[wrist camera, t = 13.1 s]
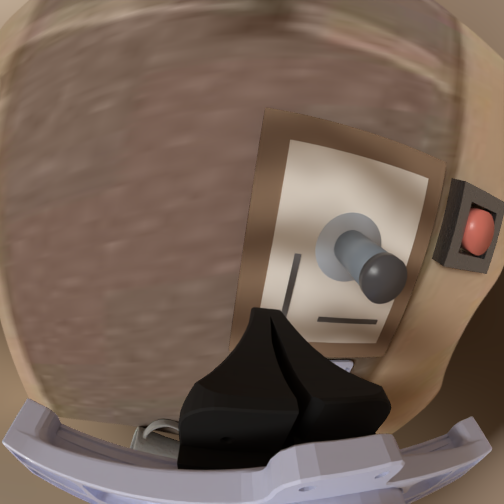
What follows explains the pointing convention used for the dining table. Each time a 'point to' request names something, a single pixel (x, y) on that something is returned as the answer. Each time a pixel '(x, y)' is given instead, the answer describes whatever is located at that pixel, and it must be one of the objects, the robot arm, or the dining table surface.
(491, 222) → the button
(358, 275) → the gray capped cylinder
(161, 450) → the ceramic mug
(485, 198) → the button housing
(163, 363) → the dining table surface
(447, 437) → the robot arm
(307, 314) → the drawing board
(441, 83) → the dining table surface
